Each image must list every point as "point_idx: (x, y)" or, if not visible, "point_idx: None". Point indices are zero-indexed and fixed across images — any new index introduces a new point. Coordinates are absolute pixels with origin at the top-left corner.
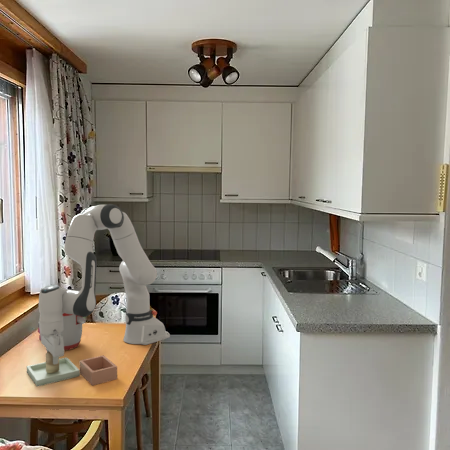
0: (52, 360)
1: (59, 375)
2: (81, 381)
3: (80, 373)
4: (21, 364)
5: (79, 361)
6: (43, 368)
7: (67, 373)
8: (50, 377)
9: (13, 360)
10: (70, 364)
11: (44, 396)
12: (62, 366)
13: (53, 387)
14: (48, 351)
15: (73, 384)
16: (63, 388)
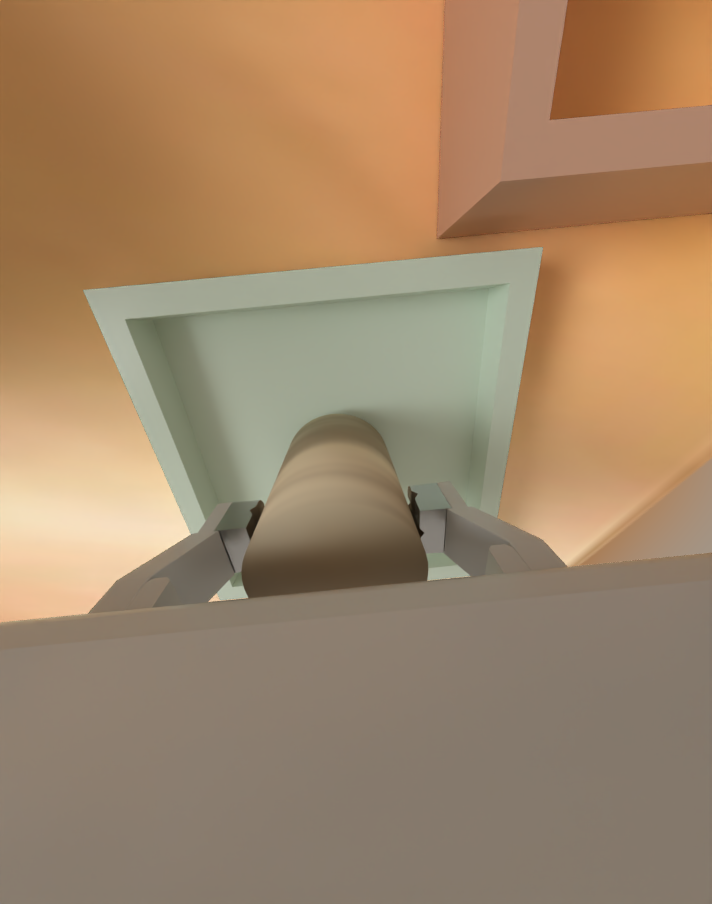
0: (429, 544)
1: (506, 446)
2: (617, 278)
3: (459, 236)
4: (96, 580)
5: (494, 187)
6: (240, 499)
7: (517, 382)
8: (498, 505)
9: (16, 607)
10: (314, 302)
11: (611, 528)
12: (255, 368)
13: (546, 477)
14: (204, 591)
15: (611, 355)
16: (610, 429)
